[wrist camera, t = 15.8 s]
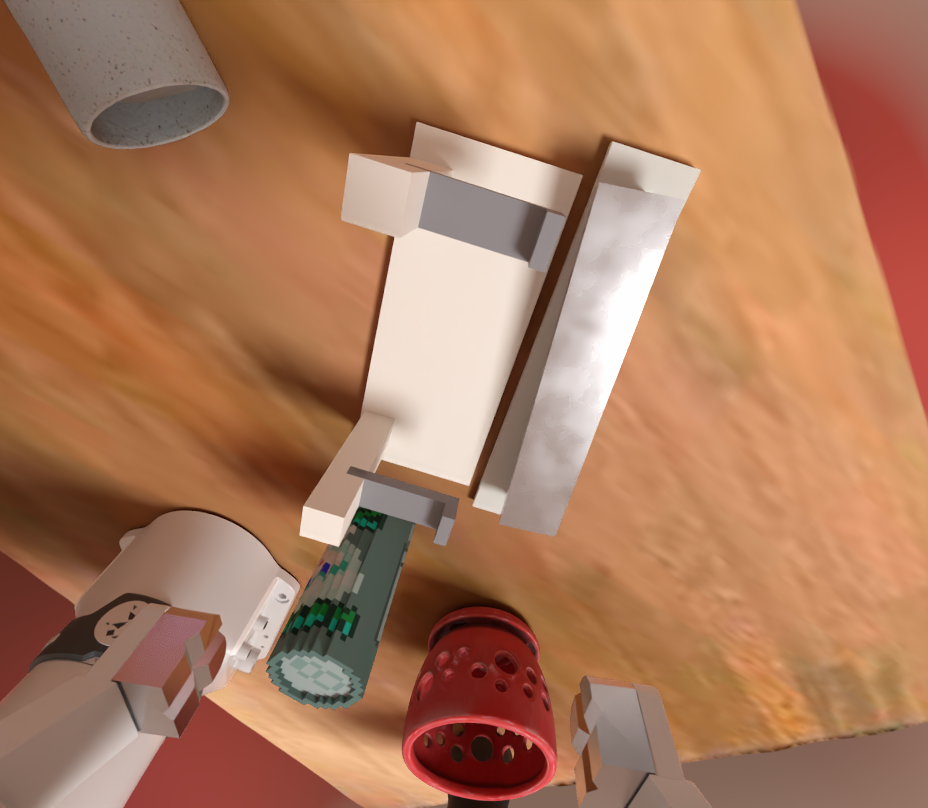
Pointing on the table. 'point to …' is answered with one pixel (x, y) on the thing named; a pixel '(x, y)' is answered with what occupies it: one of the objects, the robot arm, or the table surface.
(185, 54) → the ceramic mug
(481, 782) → the plant pot
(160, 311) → the table surface
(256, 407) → the table surface
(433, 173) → the rack
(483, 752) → the cola bottle
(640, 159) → the panel
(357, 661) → the can
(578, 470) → the rail
